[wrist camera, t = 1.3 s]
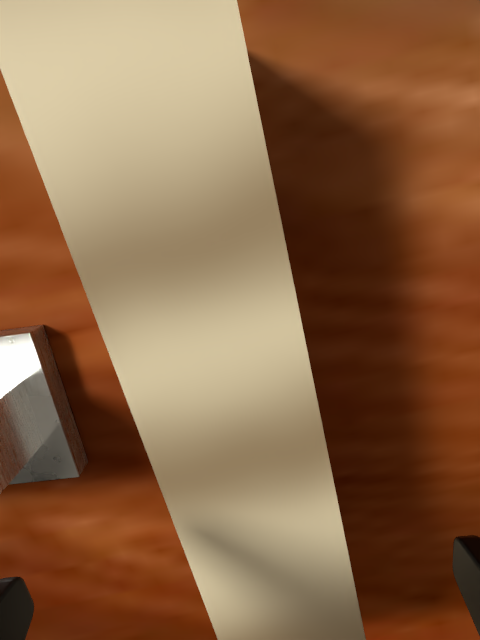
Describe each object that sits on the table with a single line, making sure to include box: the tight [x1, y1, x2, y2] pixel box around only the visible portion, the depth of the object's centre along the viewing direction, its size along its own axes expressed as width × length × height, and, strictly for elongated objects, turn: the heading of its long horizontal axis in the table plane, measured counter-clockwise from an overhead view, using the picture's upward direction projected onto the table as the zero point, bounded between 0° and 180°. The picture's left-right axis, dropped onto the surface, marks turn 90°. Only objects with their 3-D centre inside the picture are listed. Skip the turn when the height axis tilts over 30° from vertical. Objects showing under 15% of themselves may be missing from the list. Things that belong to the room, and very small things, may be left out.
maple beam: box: [0, 0, 366, 640], centre depth 13 cm, size 24×5×6 cm, turn 14°
